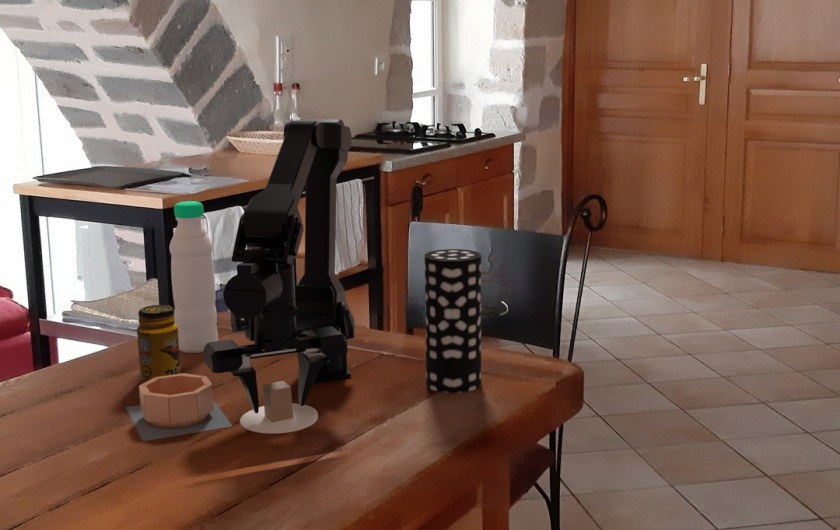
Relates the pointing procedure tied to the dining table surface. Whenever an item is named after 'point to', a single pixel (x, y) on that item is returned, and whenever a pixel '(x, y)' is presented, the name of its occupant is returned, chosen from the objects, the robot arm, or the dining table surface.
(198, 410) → the bowl
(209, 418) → the mat
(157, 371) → the condiment
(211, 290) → the water bottle
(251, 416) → the lid
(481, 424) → the dining table surface
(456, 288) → the spotted tube
